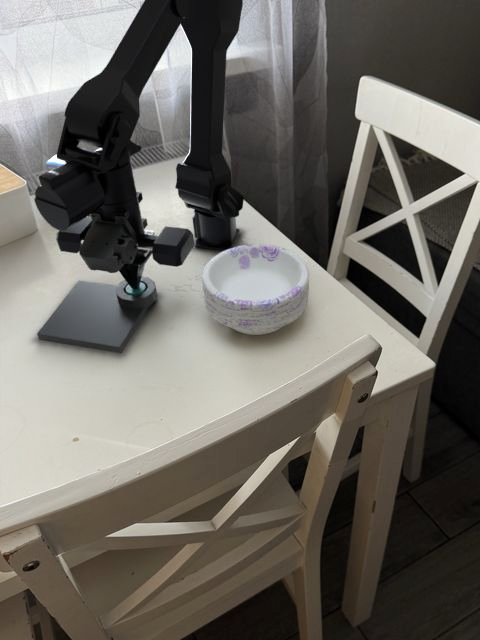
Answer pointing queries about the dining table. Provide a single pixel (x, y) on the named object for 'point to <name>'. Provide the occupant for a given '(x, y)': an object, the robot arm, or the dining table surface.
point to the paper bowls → (256, 288)
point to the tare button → (136, 290)
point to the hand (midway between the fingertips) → (135, 287)
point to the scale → (98, 315)
